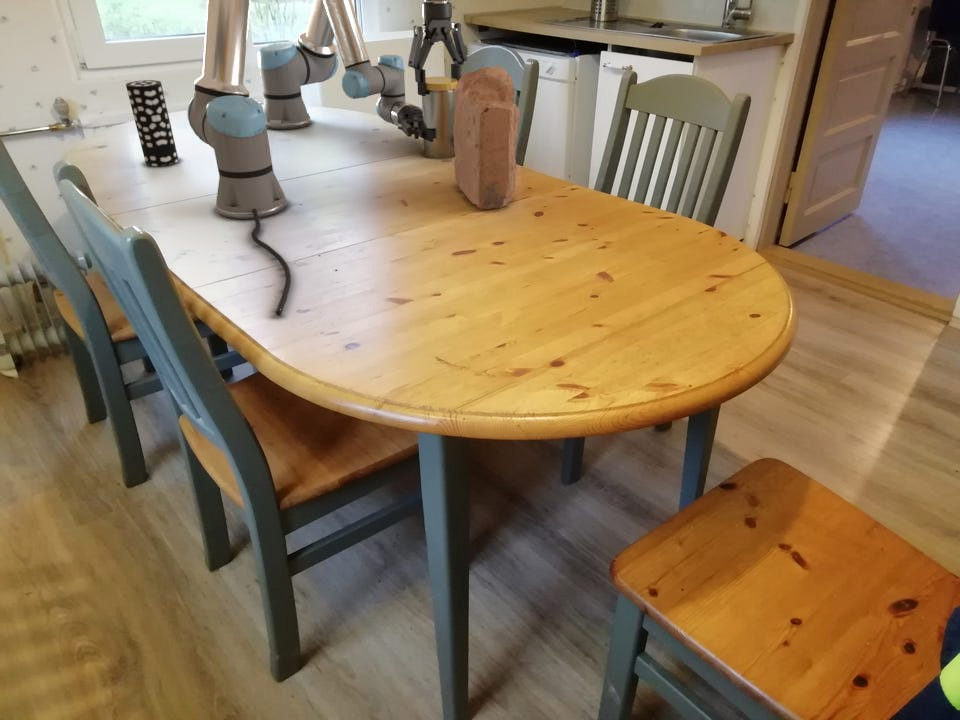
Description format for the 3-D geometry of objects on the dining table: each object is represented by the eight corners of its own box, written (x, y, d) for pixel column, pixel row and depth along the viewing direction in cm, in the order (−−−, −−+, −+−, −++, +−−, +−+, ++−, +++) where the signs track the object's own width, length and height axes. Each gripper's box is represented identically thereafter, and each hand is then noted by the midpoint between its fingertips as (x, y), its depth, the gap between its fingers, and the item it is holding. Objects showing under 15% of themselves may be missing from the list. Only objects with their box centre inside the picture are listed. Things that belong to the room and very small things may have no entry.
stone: (526, 207, 159) (530, 77, 145) (480, 212, 156) (479, 80, 142) (495, 182, 177) (496, 64, 162) (453, 186, 174) (450, 66, 159)
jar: (437, 160, 191) (436, 88, 180) (417, 153, 196) (414, 82, 186) (463, 154, 196) (462, 83, 186) (442, 147, 202) (441, 78, 191)
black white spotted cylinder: (184, 157, 190) (167, 80, 179) (169, 166, 183) (151, 87, 172) (155, 156, 190) (136, 79, 179) (139, 165, 183) (119, 86, 172)
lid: (437, 81, 192) (437, 75, 192) (465, 86, 187) (465, 80, 186) (412, 87, 186) (411, 80, 185) (440, 92, 180) (440, 85, 180)
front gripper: (408, 5, 167) (411, 100, 178) (481, 0, 179) (480, 89, 191) (390, 2, 171) (395, 95, 183) (463, -3, 184) (463, 84, 196)
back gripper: (440, 125, 212) (481, 142, 197) (376, 135, 202) (413, 153, 186) (440, 100, 208) (481, 115, 193) (374, 108, 198) (412, 125, 182)
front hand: (438, 92), depth 187 cm, fingers open, 11 cm apart
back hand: (447, 134), depth 190 cm, fingers closed on jar, 9 cm apart
